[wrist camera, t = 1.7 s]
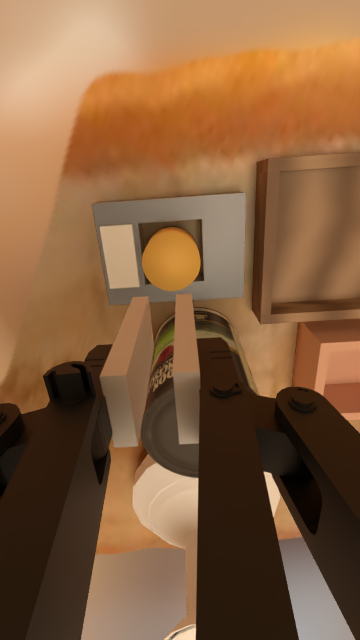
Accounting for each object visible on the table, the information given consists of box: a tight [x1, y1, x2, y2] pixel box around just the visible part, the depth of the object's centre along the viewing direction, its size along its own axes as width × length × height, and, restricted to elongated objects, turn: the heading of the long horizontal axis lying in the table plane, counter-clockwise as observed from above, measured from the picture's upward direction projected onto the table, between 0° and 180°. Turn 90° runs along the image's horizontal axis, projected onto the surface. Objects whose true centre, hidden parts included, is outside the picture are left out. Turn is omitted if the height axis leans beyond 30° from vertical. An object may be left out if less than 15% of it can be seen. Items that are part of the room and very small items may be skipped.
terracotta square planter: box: [292, 318, 360, 420], centre depth 34 cm, size 10×10×6 cm
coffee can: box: [140, 308, 260, 478], centre depth 30 cm, size 10×10×14 cm
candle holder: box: [133, 454, 280, 640], centre depth 36 cm, size 20×20×19 cm
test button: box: [142, 227, 200, 291], centre depth 28 cm, size 5×5×4 cm
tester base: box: [92, 192, 246, 305], centre depth 30 cm, size 14×10×3 cm
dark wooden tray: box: [252, 152, 360, 324], centre depth 29 cm, size 15×15×4 cm
